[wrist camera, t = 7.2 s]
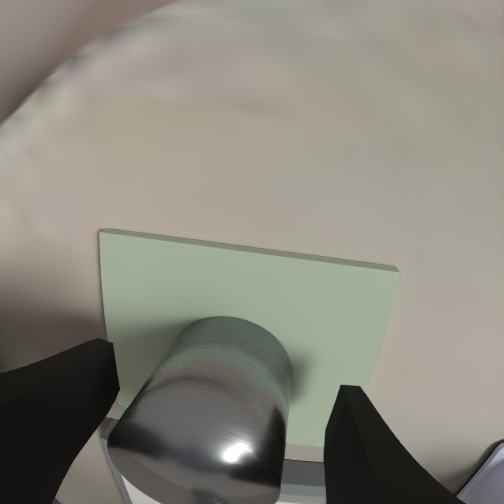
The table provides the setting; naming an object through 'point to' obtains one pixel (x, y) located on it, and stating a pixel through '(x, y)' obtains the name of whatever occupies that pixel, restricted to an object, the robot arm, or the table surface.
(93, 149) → the table surface
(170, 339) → the mat
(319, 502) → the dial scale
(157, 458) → the cylinder
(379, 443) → the robot arm
